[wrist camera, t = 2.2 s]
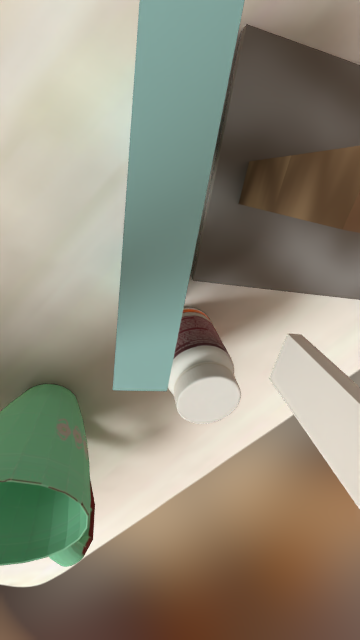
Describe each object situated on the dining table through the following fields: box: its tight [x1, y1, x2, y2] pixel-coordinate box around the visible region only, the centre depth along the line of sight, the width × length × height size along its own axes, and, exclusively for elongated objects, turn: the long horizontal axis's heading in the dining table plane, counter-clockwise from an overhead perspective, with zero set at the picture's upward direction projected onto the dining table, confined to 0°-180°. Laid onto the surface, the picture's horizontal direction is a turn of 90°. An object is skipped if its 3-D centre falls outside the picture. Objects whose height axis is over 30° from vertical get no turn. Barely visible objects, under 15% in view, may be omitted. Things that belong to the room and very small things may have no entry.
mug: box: [0, 384, 95, 567], centre depth 21 cm, size 15×10×10 cm
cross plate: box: [113, 0, 244, 391], centre depth 13 cm, size 14×2×10 cm, turn 170°
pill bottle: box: [168, 308, 241, 424], centre depth 19 cm, size 5×5×8 cm
